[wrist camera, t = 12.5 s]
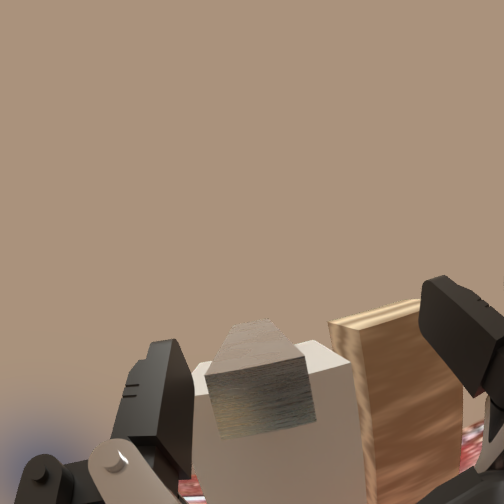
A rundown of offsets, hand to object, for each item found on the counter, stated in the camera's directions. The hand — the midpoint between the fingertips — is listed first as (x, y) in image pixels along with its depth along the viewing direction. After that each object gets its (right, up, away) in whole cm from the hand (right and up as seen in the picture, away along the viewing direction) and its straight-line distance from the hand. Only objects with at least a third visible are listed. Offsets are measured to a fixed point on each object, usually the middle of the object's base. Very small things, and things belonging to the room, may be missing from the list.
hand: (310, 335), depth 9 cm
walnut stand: (+22, -36, +22) cm, 48 cm away
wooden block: (-1, -6, +13) cm, 15 cm away
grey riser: (+5, -38, +11) cm, 40 cm away
